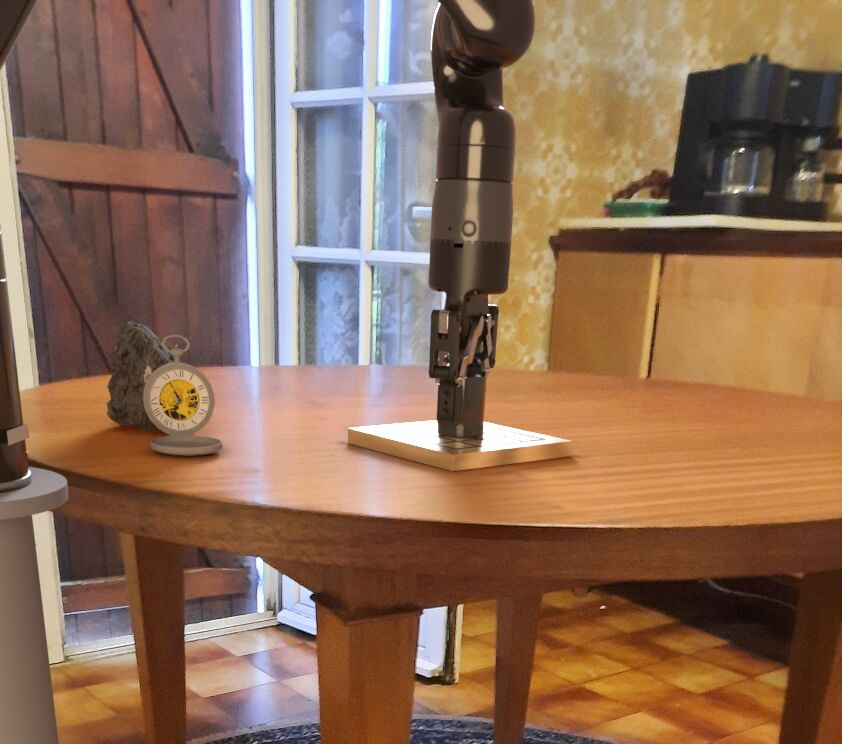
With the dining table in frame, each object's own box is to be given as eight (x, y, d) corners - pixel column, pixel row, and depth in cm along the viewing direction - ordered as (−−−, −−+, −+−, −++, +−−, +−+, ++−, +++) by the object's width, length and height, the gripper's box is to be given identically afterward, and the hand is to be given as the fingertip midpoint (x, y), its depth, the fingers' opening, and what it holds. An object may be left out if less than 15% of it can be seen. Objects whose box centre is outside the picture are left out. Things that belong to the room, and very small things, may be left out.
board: (452, 471, 97) (453, 454, 97) (347, 443, 108) (347, 427, 107) (571, 456, 107) (573, 440, 106) (464, 431, 118) (465, 417, 117)
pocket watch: (184, 461, 96) (177, 343, 92) (123, 448, 100) (114, 335, 96) (249, 450, 102) (246, 339, 98) (189, 439, 106) (183, 331, 102)
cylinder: (458, 439, 104) (461, 378, 101) (427, 431, 107) (430, 372, 105) (492, 435, 107) (496, 376, 104) (461, 428, 110) (465, 371, 107)
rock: (80, 393, 113) (113, 304, 108) (159, 413, 120) (193, 331, 115) (125, 453, 107) (162, 362, 102) (206, 471, 114) (244, 386, 109)
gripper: (456, 236, 106) (447, 408, 113) (406, 233, 94) (399, 426, 101) (529, 239, 104) (516, 414, 111) (487, 237, 92) (475, 434, 99)
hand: (460, 419), depth 106 cm, fingers open, 7 cm apart
